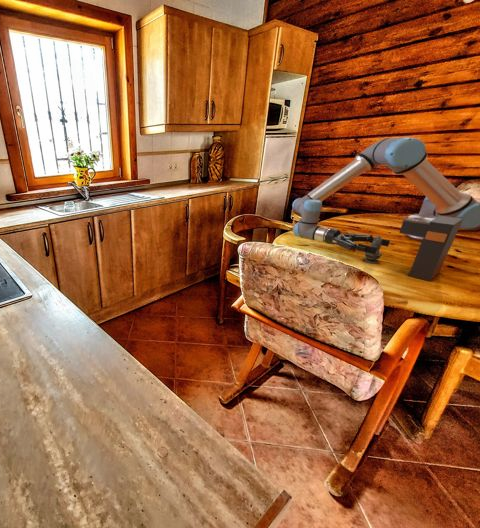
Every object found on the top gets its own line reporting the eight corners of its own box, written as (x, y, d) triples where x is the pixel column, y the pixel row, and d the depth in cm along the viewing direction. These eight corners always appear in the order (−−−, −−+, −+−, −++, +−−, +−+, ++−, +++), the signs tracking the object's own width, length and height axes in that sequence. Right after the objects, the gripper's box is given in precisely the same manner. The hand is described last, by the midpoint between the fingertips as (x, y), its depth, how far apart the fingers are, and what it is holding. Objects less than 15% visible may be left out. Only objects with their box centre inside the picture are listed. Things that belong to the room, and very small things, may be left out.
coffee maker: (396, 262, 120) (414, 212, 111) (439, 272, 110) (463, 218, 101) (384, 270, 114) (403, 218, 105) (428, 281, 104) (453, 225, 95)
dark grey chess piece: (382, 264, 119) (392, 237, 114) (367, 263, 120) (375, 237, 116) (374, 258, 124) (383, 233, 120) (359, 258, 126) (367, 233, 121)
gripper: (338, 237, 142) (391, 248, 125) (312, 248, 130) (367, 262, 113) (341, 223, 139) (396, 232, 122) (316, 233, 127) (373, 245, 110)
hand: (382, 247), depth 118 cm, fingers open, 13 cm apart
